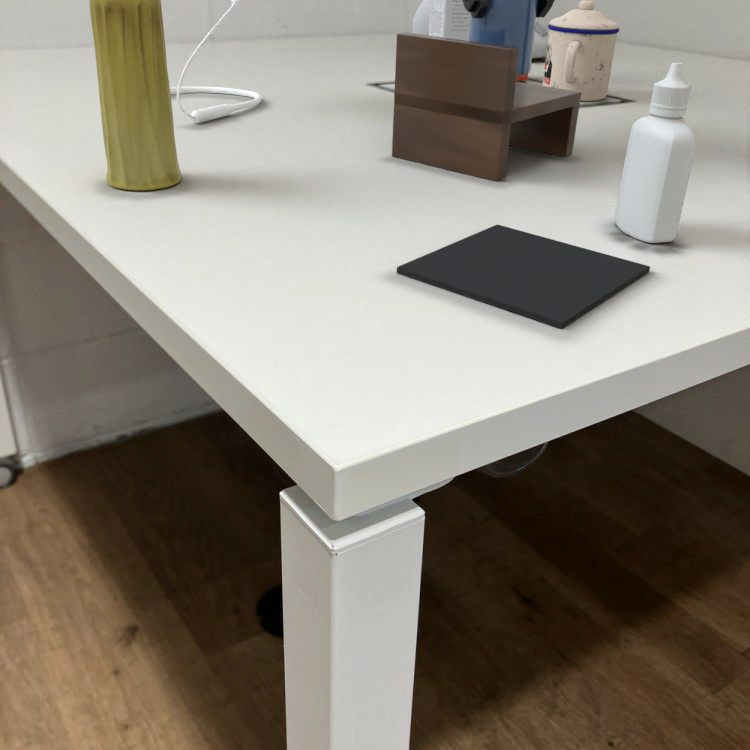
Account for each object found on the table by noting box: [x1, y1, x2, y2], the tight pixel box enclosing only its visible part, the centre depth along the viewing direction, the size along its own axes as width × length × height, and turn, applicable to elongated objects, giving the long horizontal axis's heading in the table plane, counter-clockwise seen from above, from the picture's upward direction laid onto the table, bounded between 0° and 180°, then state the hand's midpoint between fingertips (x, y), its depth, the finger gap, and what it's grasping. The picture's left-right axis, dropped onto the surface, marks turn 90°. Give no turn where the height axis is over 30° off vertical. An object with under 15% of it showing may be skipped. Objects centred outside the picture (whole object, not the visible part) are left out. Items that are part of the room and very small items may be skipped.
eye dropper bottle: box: [614, 62, 697, 244], centre depth 59 cm, size 4×6×12 cm
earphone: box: [169, 0, 263, 124], centre depth 94 cm, size 14×17×18 cm
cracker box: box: [429, 0, 529, 82], centre depth 113 cm, size 14×6×21 cm, turn 110°
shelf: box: [391, 32, 581, 182], centre depth 78 cm, size 14×12×11 cm
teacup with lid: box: [541, 0, 620, 102], centre depth 106 cm, size 12×9×12 cm
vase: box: [89, 0, 182, 192], centre depth 65 cm, size 6×6×14 cm
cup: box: [469, 0, 538, 75], centre depth 75 cm, size 6×6×9 cm
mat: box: [396, 223, 651, 329], centre depth 54 cm, size 12×12×1 cm
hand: (514, 11), depth 73 cm, fingers closed on cup, 6 cm apart
